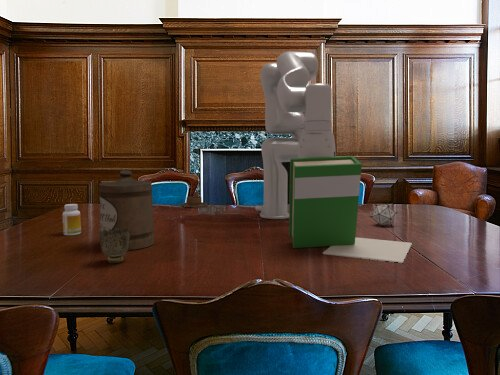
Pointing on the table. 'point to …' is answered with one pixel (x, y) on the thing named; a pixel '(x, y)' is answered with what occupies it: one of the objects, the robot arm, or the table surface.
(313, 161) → the hardback book
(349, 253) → the desk pad
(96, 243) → the table surface
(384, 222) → the game die
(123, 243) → the cup
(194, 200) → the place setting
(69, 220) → the supplement bottle
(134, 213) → the wooden container
